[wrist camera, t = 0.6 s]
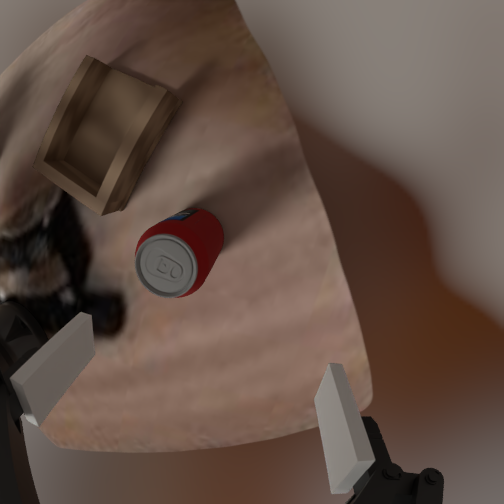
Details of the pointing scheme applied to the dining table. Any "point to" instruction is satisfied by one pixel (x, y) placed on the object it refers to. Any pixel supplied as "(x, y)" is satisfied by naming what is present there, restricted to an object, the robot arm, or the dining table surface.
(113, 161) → the walnut U-rest
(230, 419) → the dining table surface
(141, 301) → the dining table surface
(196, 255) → the beverage can
